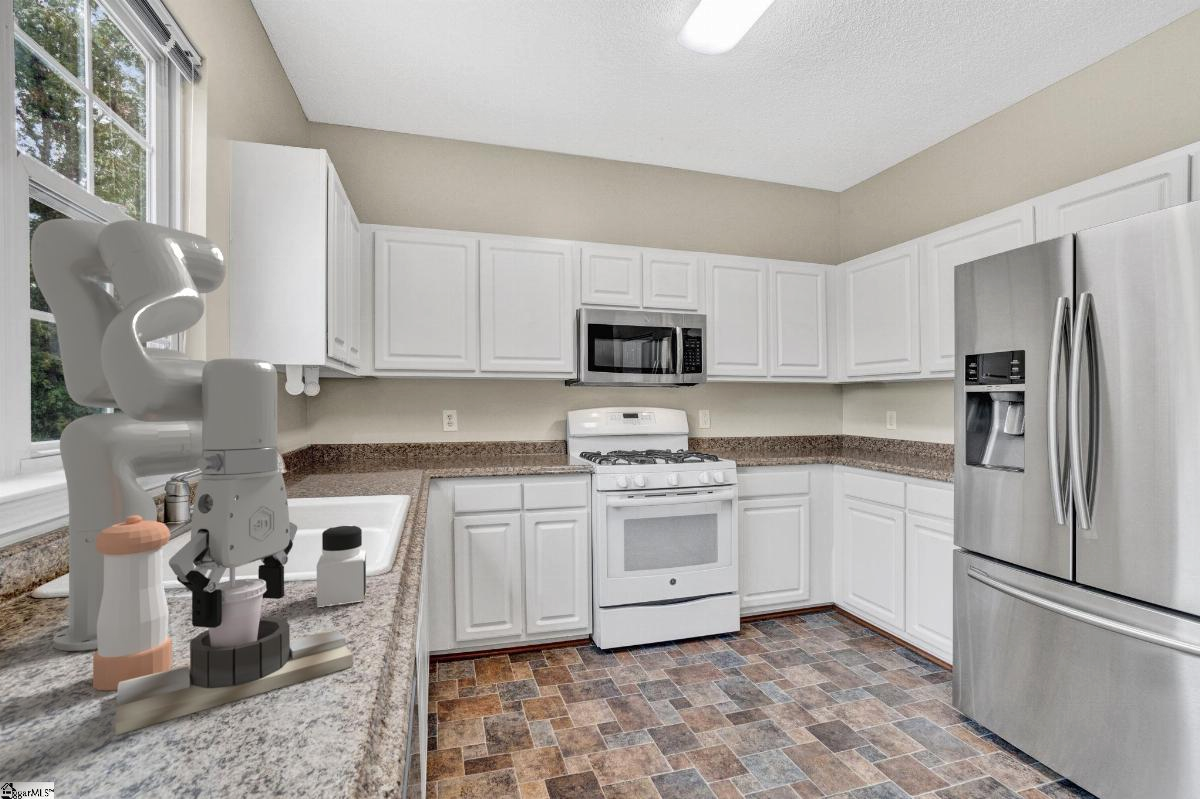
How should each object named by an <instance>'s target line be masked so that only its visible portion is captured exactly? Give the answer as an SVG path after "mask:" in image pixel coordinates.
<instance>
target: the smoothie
mask: <svg viewBox="0 0 1200 799" xmlns="http://www.w3.org/2000/svg"><path fill="white" fill-rule="evenodd" d="M228 569H229V576H228V577H229V580H227V581H223V582H219V583H218V585H217V587H216V589H220V590H221V592H222V623H221V625H220V626H218V627H216V628H208V627H207V628H208V629H207V630H209V636H210V642H211V647H228V646H237V645H241V644H245V643H250V642H254V641H257V635H258V628H259V621H260V618H261V611H262V605H263V599H264V598H263V593H265V591H266V590H267V589H266V581H264V580H261V579H258V578H241V579H236V567H235V568H228Z"/></svg>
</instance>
